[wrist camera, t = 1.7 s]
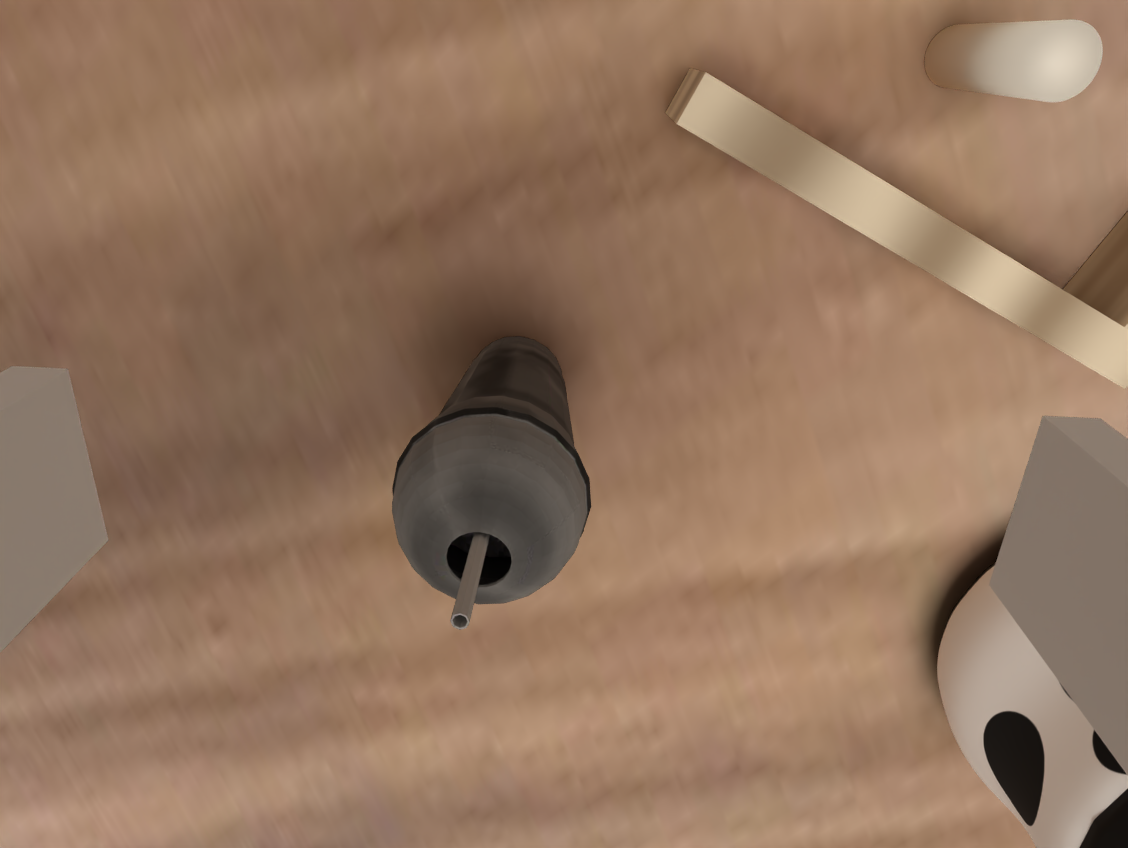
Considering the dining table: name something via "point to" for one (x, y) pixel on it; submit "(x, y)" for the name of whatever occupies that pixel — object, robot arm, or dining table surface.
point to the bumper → (922, 229)
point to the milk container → (1027, 730)
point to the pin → (1016, 58)
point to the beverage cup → (494, 482)
